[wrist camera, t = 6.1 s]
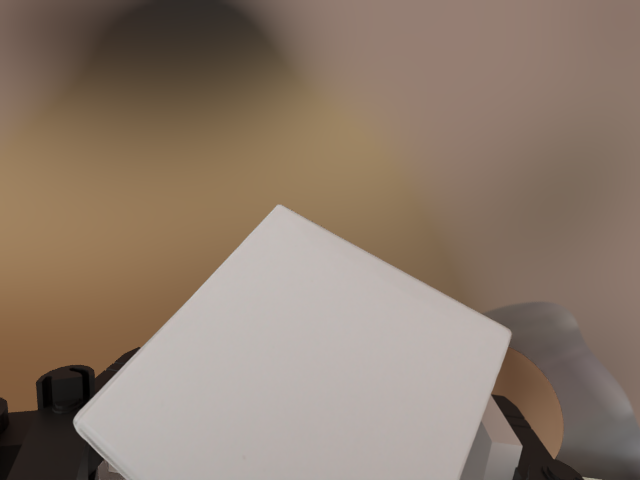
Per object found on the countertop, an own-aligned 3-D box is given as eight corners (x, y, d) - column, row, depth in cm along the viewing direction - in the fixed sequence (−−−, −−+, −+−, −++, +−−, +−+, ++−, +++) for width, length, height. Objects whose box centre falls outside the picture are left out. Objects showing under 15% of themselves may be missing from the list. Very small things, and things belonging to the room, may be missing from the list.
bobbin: (402, 470, 29) (437, 469, 21) (401, 369, 34) (429, 334, 25) (502, 483, 29) (579, 487, 21) (488, 379, 33) (547, 347, 25)
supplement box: (409, 412, 19) (531, 332, 8) (332, 568, 16) (376, 763, 5) (296, 334, 21) (280, 193, 11) (207, 456, 18) (52, 427, 7)
